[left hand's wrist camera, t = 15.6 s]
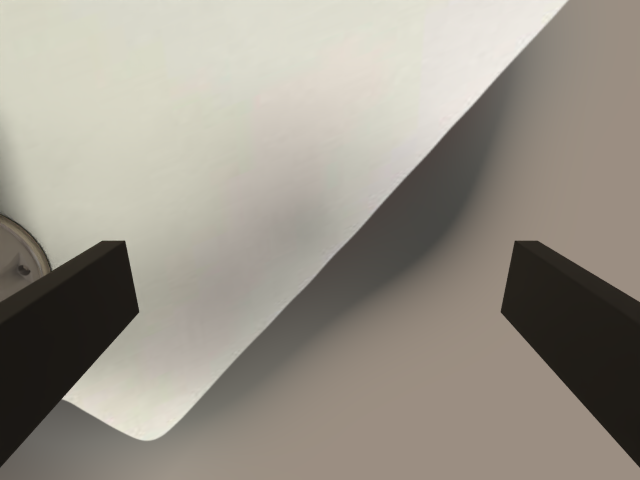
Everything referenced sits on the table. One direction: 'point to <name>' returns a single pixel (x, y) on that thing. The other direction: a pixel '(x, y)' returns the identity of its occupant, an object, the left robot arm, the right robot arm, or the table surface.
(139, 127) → the table surface
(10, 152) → the table surface
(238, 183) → the table surface
